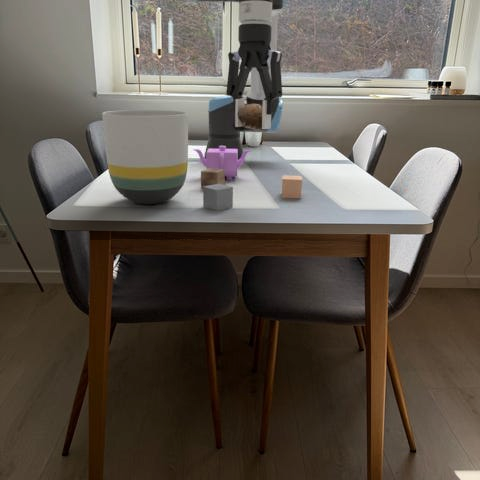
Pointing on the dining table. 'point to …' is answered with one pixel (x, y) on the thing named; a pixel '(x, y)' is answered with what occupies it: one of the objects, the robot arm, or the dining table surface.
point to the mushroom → (251, 116)
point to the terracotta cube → (291, 186)
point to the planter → (146, 153)
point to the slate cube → (217, 197)
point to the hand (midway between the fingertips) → (252, 127)
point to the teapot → (223, 160)
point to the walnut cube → (212, 177)
